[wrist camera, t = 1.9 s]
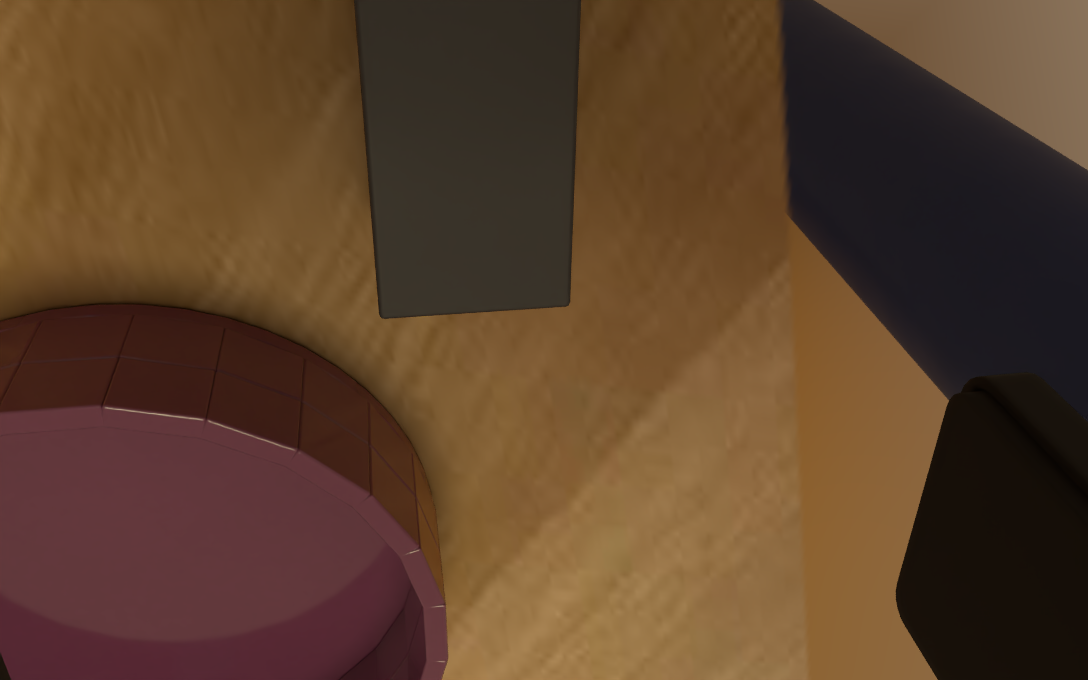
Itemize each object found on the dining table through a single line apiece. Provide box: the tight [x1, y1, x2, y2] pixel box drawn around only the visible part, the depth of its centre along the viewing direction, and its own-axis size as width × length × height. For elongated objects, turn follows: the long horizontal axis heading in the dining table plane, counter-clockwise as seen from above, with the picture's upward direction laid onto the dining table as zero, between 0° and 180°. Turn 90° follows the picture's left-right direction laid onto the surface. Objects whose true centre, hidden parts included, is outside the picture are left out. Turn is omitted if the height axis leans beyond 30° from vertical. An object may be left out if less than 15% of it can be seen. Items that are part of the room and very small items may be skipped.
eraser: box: [354, 0, 581, 319], centre depth 21 cm, size 4×8×5 cm, turn 179°
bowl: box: [0, 304, 448, 680], centre depth 27 cm, size 16×16×4 cm
